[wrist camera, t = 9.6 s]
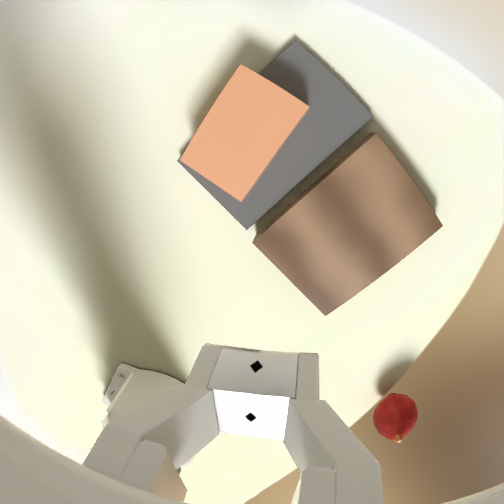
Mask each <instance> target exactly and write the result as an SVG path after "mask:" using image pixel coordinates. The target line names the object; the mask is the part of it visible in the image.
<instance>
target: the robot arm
mask: <svg viewBox="0 0 504 504" xmlns="http://www.w3.org/2000/svg"><path fill="white" fill-rule="evenodd" d="M103 401H104V403H105V404H106V405H107V407H108V409H107V412H108V413H107V415H106V416H105V418H104V419H103V421H102V425H103V431H102V432H101V434H100V436H99V437H98V439H97V441H96V443H95V444H94V446H93V448H92V449H91V451H90V453H89V455H88V456H87V458H86V460H85V461H84V463H83V465H82V464H80V463H78V462H76V461H74V460H72V459H70V458H68V457H66V456H64V455H62V454H61V453H59V452H57V451H55V450H54V449H52V448H50V447H48V446H46V445H45V444H43V443H42V442H40V441H38V440H37V439H35V438H34V437H32V436H30V435H29V434H27V433H26V432H24V431H23V430H21V429H20V428H18V427H17V426H15V425H14V424H13V423H11V422H10V421H8V420H7V419H6V418H4V417H3V416H1V415H0V504H189V503H185V502H183V501H184V498H185V495H186V492H187V489H186V487H185V485H184V484H183V482H182V480H181V478H180V476H179V474H180V472H181V467H185V466H189V465H190V464H191V463H192V461H193V459H194V457H195V455H196V454H197V453H198V452H199V451H200V450H201V449H202V448H204V447H205V446H206V445H207V444H208V443H209V442H211V441H212V440H213V439H214V438H215V437H216V436H217V435H218V434H219V432H222V433H230V434H238V435H247V436H255V437H262V438H271V439H280V440H283V442H284V444H285V446H286V448H287V449H288V451H289V453H290V455H291V457H292V458H293V460H294V462H295V464H296V466H297V467H298V469H299V471H300V473H301V476H300V479H299V482H298V485H297V488H296V491H295V494H294V496H293V499H292V502H291V504H383V491H382V479H381V467H380V463H379V462H378V461H377V460H376V459H375V457H374V456H373V455H372V454H371V453H370V452H369V451H368V450H367V448H366V447H365V446H364V445H363V444H362V443H361V442H360V440H359V439H358V438H357V437H356V436H355V435H354V434H353V432H352V431H351V430H350V429H349V428H348V427H347V425H346V424H345V423H344V422H343V421H342V420H341V418H340V417H339V416H338V415H337V414H336V413H335V411H334V410H333V409H332V408H331V407H330V406H329V404H328V403H327V402H326V401H325V400H319V355H318V353H299V354H298V353H293V352H277V351H264V350H254V349H246V348H238V347H231V346H221V345H215V344H208V343H206V344H205V345H204V346H202V348H201V351H200V353H199V355H198V357H197V359H196V361H195V364H194V366H193V368H192V370H191V372H190V374H189V377H188V379H187V381H186V383H185V384H184V383H182V382H181V381H179V380H177V379H175V378H173V377H170V376H168V375H165V374H162V373H159V372H155V371H150V370H141V369H137V368H135V367H132V366H130V365H127V364H124V363H121V364H119V366H118V368H117V370H116V372H115V374H114V376H113V378H112V381H111V383H110V385H109V387H108V389H107V391H106V393H105V395H104V398H103ZM442 504H504V483H502V484H500V485H497V486H495V487H492V488H490V489H487V490H484V491H482V492H479V493H476V494H473V495H470V496H467V497H464V498H460V499H457V500H453V501H450V502H446V503H442Z"/></svg>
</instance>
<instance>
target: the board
mask: <svg viewBox="0 0 504 504" xmlns="http://www.w3.org/2000/svg"><path fill="white" fill-rule="evenodd" d="M442 226H443V225H442V224H441V222H440V220H439V219H438V217H437V216H436V214H435V212H434V211H433V209H432V208H431V206H430V205H429V203H428V202H427V200H426V199H425V197H424V196H423V194H422V193H421V191H420V190H419V189H418V187H417V186H416V184H415V183H414V181H413V180H412V179H411V177H410V176H409V175H408V173H407V172H406V171H405V169H404V168H403V167H402V165H401V164H400V163H399V161H398V160H397V159H396V157H395V156H394V155H393V154H392V152H391V151H390V150H389V149H388V147H387V146H386V145H385V144H384V142H383V141H382V140H381V139H380V137H379V136H378V135H377V134H376V133H371V134H370V135H368V136H367V137H366V138H365V139H364V140H363V141H362V142H360V143H359V144H358V145H357V146H356V147H355V148H354V149H352V150H351V151H350V152H349V153H348V154H347V155H346V156H344V157H343V158H342V159H341V160H340V161H339V162H338V163H336V164H335V165H334V166H333V167H332V168H331V169H330V170H329V171H327V172H326V173H325V174H324V175H323V176H322V177H321V178H319V179H318V180H317V181H316V182H315V183H314V184H313V185H312V186H310V187H309V188H308V189H307V190H306V191H305V192H304V193H303V194H301V195H300V196H299V197H298V198H297V199H296V200H295V201H294V202H292V203H291V204H290V205H289V206H288V207H287V208H286V209H285V210H283V211H282V212H281V213H280V214H279V215H278V216H277V217H276V218H274V219H273V220H272V221H271V222H270V223H269V224H268V225H267V226H265V227H264V228H263V229H262V230H261V231H260V232H259V233H258V234H257V235H256V236H255V238H254V240H253V242H252V243H253V244H254V245H255V246H256V247H257V248H258V249H259V250H260V251H261V252H262V253H263V254H264V255H265V256H266V257H267V258H268V259H269V260H270V261H271V262H272V263H273V264H274V265H275V266H276V267H277V268H278V269H279V270H280V271H281V272H282V273H283V274H284V275H285V276H286V277H287V278H288V279H289V280H290V281H291V282H292V283H293V284H294V285H295V286H296V287H297V288H298V289H299V290H300V291H301V292H302V293H303V294H304V295H305V296H306V297H307V298H308V299H309V300H310V301H311V302H312V303H313V304H314V305H315V306H316V307H317V308H318V309H319V310H320V311H321V312H322V313H323V314H324V315H325V316H326V315H328V314H329V313H330V312H332V311H333V310H335V309H336V308H338V307H339V306H341V305H342V304H343V303H345V302H346V301H348V300H349V299H350V298H352V297H353V296H355V295H356V294H357V293H359V292H360V291H362V290H363V289H364V288H366V287H367V286H368V285H370V284H371V283H372V282H374V281H375V280H376V279H378V278H379V277H380V276H382V275H383V274H384V273H386V272H387V271H388V270H390V269H391V268H392V267H393V266H395V265H396V264H397V263H398V262H400V261H401V260H402V259H404V258H405V257H406V256H407V255H409V254H410V253H411V252H412V251H413V250H415V249H416V248H417V247H418V246H420V245H421V244H422V243H423V242H424V241H426V240H427V239H428V238H429V237H430V236H432V235H433V234H434V233H435V232H436V231H437V230H439V229H440V228H441V227H442Z"/></svg>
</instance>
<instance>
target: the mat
mask: <svg viewBox="0 0 504 504" xmlns="http://www.w3.org/2000/svg"><path fill="white" fill-rule="evenodd" d="M259 75H261V76H263V77H264V78H266V79H268V80H269V81H271V82H272V83H274V84H276V85H277V86H279V87H280V88H282V89H284V90H285V91H287V92H288V93H290V94H291V95H293V96H294V97H296V98H297V99H299V100H300V101H302V102H303V103H305V104H306V105H308V106H309V110H308V112H307V113H306V114H305V116H304V117H303V118H302V120H301V121H300V123H299V124H298V125H297V127H296V128H295V129H294V131H293V132H292V133H291V135H290V136H289V138H288V139H287V140H286V142H285V143H284V144H283V146H282V147H281V149H280V150H279V151H278V153H277V154H276V156H275V157H274V158H273V160H272V161H271V163H270V164H269V165H268V167H267V168H266V170H265V171H264V173H263V174H262V175H261V177H260V178H259V180H258V181H257V182H256V184H255V185H254V187H253V188H252V190H251V191H250V192H249V194H248V195H247V196H246V197H245V198H244V199H243V201H242V202H240V201H239V200H237V199H236V198H234V197H233V196H232V195H230V194H229V193H227V192H226V191H224V190H223V189H221V188H220V187H219V186H217V185H216V184H214V183H213V182H211V181H210V180H208V179H207V178H205V177H204V176H202V175H201V174H199V173H198V172H196V171H195V170H193V169H192V168H190V167H189V166H188V165H186V164H185V163H183V162H182V161H180V159H181V157H182V156H181V157H180V158H179V159H178V160H177V161H178V162H179V163H180V164H181V165H182V166H183V167H184V168H185V169H186V170H187V171H188V172H189V173H190V174H191V175H192V176H193V177H194V178H195V179H196V180H197V181H198V182H199V183H200V184H201V185H202V186H203V187H204V188H205V189H206V190H207V191H208V192H209V193H210V194H211V195H212V196H213V197H214V198H215V199H216V200H217V201H218V202H219V203H220V204H221V205H222V206H223V207H224V208H225V209H226V210H227V211H228V212H229V213H230V214H231V215H232V216H233V217H234V218H235V219H236V220H237V221H238V222H239V223H240V224H241V225H242V226H243V227H244V228H245V229H246V230H248V229H249V228H250V227H251V226H252V225H253V224H254V223H255V222H256V221H257V220H258V219H260V218H261V217H262V216H263V215H264V214H265V213H266V212H267V211H268V210H269V209H270V208H272V207H273V206H274V205H275V204H276V203H277V202H278V201H279V200H280V199H281V198H283V197H284V196H285V195H286V194H287V193H288V192H289V191H290V190H291V189H293V188H294V187H295V186H296V185H297V184H298V183H299V182H300V181H301V180H303V179H304V178H305V177H306V176H307V175H308V174H309V173H310V172H311V171H313V170H314V169H315V168H316V167H317V166H318V165H319V164H320V163H322V162H323V161H324V160H325V159H326V158H327V157H328V156H329V155H331V154H332V153H333V152H334V151H335V150H336V149H337V148H338V147H340V146H341V145H342V144H343V143H344V142H345V141H346V140H348V139H349V138H350V137H351V136H352V135H353V134H354V133H355V132H357V131H358V130H359V129H360V128H361V127H362V126H364V125H365V124H366V123H367V122H368V121H369V120H370V119H372V118H373V116H372V114H371V113H370V112H369V111H368V110H367V109H366V108H365V107H364V106H363V104H362V103H361V102H360V101H359V100H358V99H357V98H356V97H355V96H354V95H353V94H352V93H351V92H350V91H349V90H348V89H347V87H346V86H345V85H344V84H343V83H342V82H341V81H340V80H339V79H338V78H337V77H336V76H335V75H334V74H332V73H331V72H330V71H329V70H328V69H327V68H326V67H325V66H324V65H323V64H322V63H321V62H320V61H319V60H318V59H317V58H315V57H314V56H313V55H312V54H311V53H310V52H309V51H308V50H306V49H305V48H304V47H303V46H302V45H301V44H299V43H298V42H297V41H295V42H294V43H293V44H291V45H290V46H289V47H288V48H287V49H286V50H284V51H283V52H282V53H281V54H280V55H279V56H278V57H277V58H275V59H274V60H273V61H272V62H271V63H270V64H269V65H268V66H267V67H266V68H265V69H263V70H262V71H261V72H260V73H259ZM182 155H183V154H182Z"/></svg>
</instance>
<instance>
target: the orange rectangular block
mask: <svg viewBox="0 0 504 504" xmlns="http://www.w3.org/2000/svg"><path fill="white" fill-rule="evenodd" d="M308 110H309V106H308V105H306V104H305V103H303V102H302V101H300V100H299V99H297V98H296V97H294V96H293V95H291V94H290V93H288V92H287V91H285V90H284V89H282V88H280V87H279V86H277V85H276V84H274V83H272V82H271V81H269V80H268V79H266V78H264V77H263V76H261V75H259V74H257V73H256V72H254V71H252V70H251V69H249V68H247V67H245V66H243V65H242V64H240V66H239V67H238V69H237V70H236V71H235V73H234V74H233V76H232V77H231V79H230V80H229V82H228V83H227V85H226V86H225V88H224V89H223V90H222V92H221V93H220V95H219V97H218V98H217V100H216V101H215V103H214V104H213V106H212V107H211V109H210V110H209V112H208V114H207V115H206V117H205V118H204V120H203V122H202V123H201V125H200V126H199V128H198V130H197V131H196V133H195V135H194V136H193V138H192V140H191V141H190V143H189V145H188V146H187V148H186V150H185V152H184V153H183V155H182V157H181V159H180V161H182V162H183V163H185V164H186V165H188V166H189V167H190V168H192V169H193V170H195V171H196V172H198V173H199V174H201V175H202V176H204V177H205V178H207V179H208V180H210V181H211V182H213V183H214V184H216V185H217V186H219V187H220V188H221V189H223V190H224V191H226V192H227V193H229V194H230V195H232V196H233V197H234V198H236V199H237V200H239V201H240V202H242V201H243V199H244V198H245V197H246V196H247V195H248V194H249V192H250V191H251V190H252V188H253V187H254V185H255V184H256V182H257V181H258V180H259V178H260V177H261V175H262V174H263V173H264V171H265V170H266V168H267V167H268V165H269V164H270V163H271V161H272V160H273V158H274V157H275V156H276V154H277V153H278V151H279V150H280V149H281V147H282V146H283V144H284V143H285V142H286V140H287V139H288V138H289V136H290V135H291V133H292V132H293V131H294V129H295V128H296V127H297V125H298V124H299V123H300V121H301V120H302V118H303V117H304V116H305V114H306V113H307V112H308Z"/></svg>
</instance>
